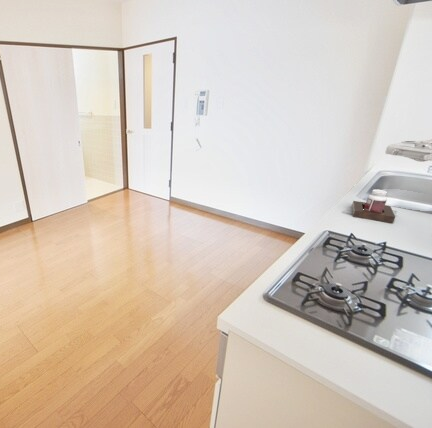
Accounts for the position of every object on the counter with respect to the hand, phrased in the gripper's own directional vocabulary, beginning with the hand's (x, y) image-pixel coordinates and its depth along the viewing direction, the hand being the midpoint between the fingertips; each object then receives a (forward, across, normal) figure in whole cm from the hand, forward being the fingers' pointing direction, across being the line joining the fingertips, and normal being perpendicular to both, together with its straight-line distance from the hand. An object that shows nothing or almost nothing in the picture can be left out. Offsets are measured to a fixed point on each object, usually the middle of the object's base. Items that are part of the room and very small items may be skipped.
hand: (407, 155), depth 118 cm
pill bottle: (+12, 0, -25) cm, 28 cm away
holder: (+12, 0, -25) cm, 28 cm away
